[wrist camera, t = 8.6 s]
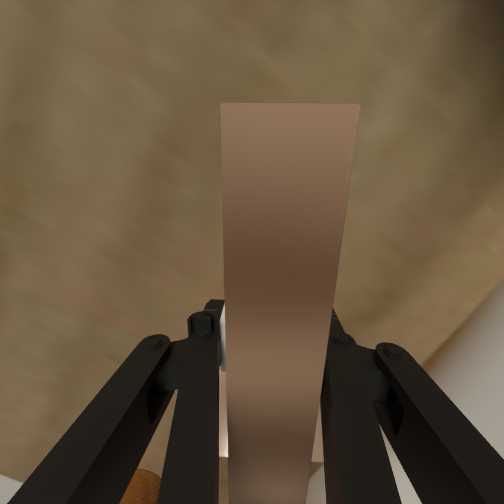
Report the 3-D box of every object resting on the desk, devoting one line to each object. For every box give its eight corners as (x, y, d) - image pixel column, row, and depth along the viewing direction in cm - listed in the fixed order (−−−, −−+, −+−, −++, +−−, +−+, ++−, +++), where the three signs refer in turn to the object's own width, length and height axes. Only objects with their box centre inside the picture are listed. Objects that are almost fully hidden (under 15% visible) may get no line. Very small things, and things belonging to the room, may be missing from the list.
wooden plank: (247, 139, 15) (220, 103, 6) (298, 140, 15) (360, 104, 5) (245, 379, 21) (230, 558, 12) (281, 381, 21) (297, 562, 11)
